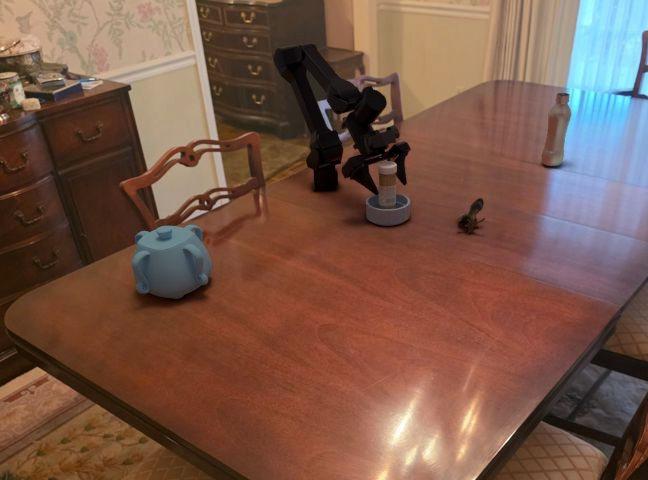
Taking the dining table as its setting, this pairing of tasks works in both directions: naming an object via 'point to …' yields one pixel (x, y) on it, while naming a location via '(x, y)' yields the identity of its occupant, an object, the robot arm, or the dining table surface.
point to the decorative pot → (170, 261)
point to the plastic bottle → (557, 131)
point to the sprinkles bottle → (387, 185)
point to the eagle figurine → (472, 215)
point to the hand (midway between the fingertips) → (391, 189)
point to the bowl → (388, 211)
